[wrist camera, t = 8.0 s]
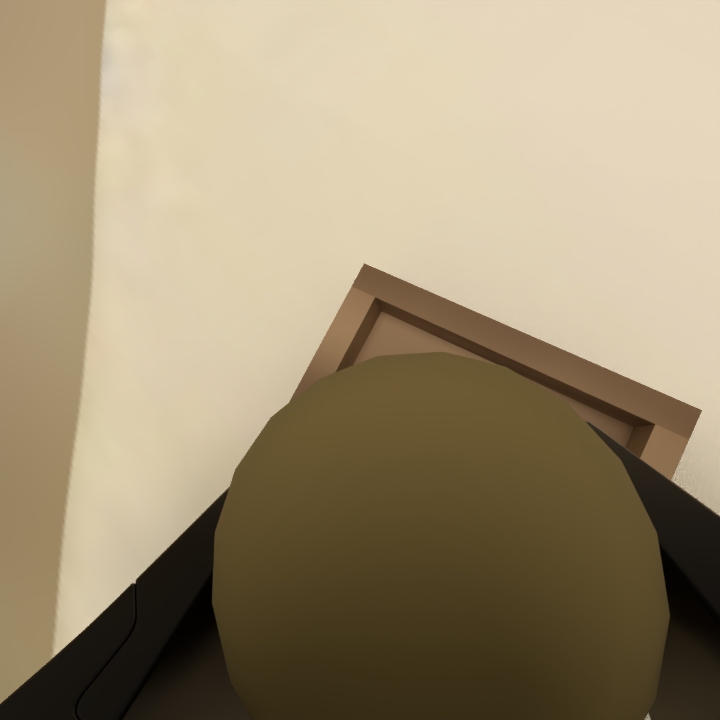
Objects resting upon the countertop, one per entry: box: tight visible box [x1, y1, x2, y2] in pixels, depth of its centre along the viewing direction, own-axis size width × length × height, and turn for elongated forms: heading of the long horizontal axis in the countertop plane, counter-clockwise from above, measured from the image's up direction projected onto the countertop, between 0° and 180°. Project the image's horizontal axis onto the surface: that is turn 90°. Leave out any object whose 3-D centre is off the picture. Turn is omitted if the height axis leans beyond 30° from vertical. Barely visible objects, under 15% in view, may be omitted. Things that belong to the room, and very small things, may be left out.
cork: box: [212, 352, 670, 720], centre depth 9 cm, size 6×6×11 cm
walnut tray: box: [289, 264, 702, 480], centre depth 16 cm, size 12×12×2 cm
